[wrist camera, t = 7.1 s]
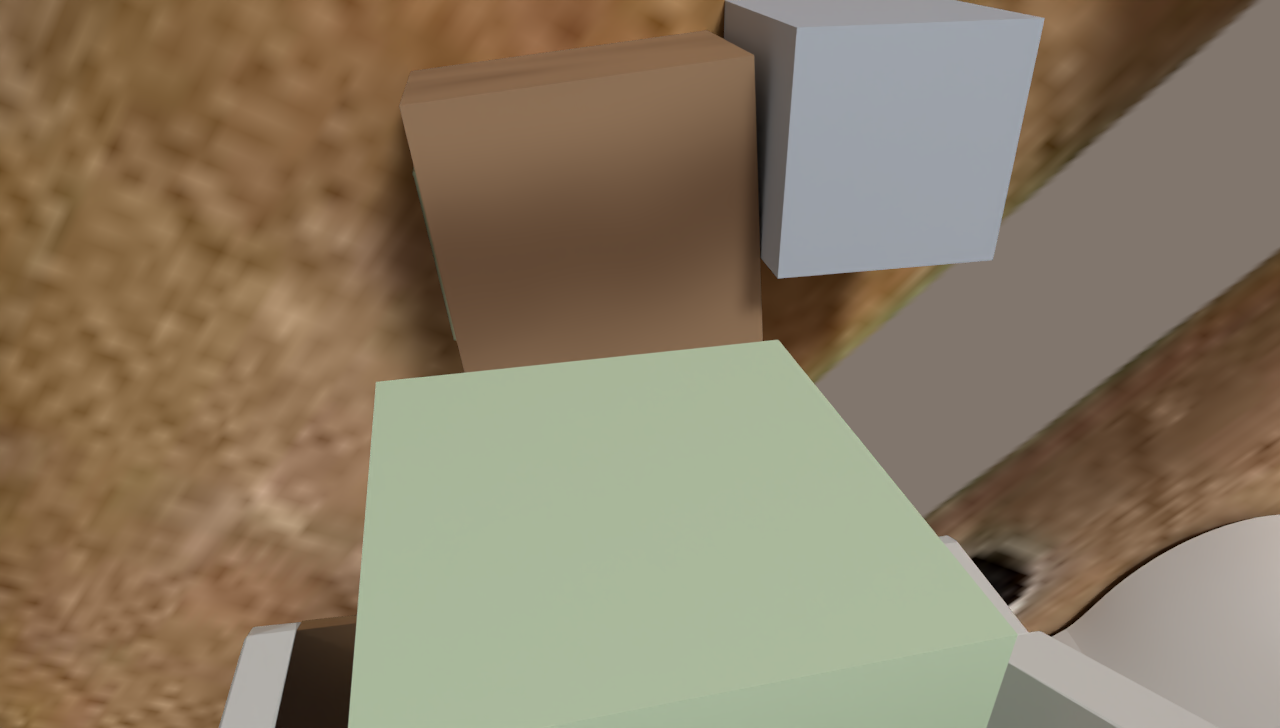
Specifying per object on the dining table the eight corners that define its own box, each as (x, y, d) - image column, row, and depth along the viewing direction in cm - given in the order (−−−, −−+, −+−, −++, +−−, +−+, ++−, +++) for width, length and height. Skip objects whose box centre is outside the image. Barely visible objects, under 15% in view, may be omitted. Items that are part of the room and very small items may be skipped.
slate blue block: (893, 192, 23) (992, 260, 18) (717, 204, 22) (777, 278, 18) (921, -7, 20) (1044, 18, 16) (724, -1, 19) (797, 27, 15)
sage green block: (748, 616, 13) (906, 961, 9) (426, 674, 12) (432, 1094, 8) (778, 339, 11) (1017, 635, 6) (376, 381, 10) (345, 767, 5)
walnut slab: (720, 295, 23) (763, 363, 20) (468, 339, 23) (468, 417, 19) (704, 28, 20) (754, 54, 16) (405, 70, 19) (391, 106, 16)
